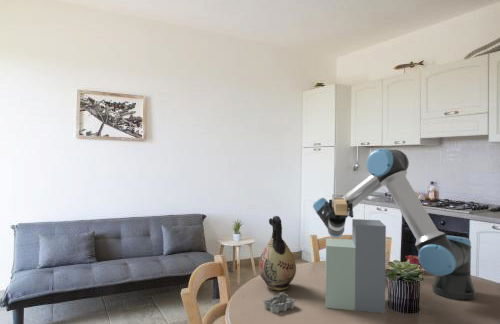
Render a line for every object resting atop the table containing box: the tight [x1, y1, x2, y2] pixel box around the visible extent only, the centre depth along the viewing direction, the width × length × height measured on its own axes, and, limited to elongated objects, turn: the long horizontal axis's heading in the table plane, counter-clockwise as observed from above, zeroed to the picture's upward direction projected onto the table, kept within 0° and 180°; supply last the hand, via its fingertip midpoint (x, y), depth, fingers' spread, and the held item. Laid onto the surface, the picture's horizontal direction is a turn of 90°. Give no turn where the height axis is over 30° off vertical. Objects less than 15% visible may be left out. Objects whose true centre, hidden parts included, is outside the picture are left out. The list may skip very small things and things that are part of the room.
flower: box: [405, 254, 423, 270], centre depth 173 cm, size 10×9×8 cm
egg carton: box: [262, 291, 297, 314], centre depth 126 cm, size 11×8×4 cm
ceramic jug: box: [258, 215, 297, 291], centre depth 147 cm, size 17×15×30 cm
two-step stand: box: [324, 218, 387, 314], centre depth 132 cm, size 14×20×30 cm
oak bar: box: [334, 197, 347, 215], centre depth 138 cm, size 24×4×4 cm, turn 168°
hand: (339, 197), depth 141 cm, fingers closed on oak bar, 4 cm apart
